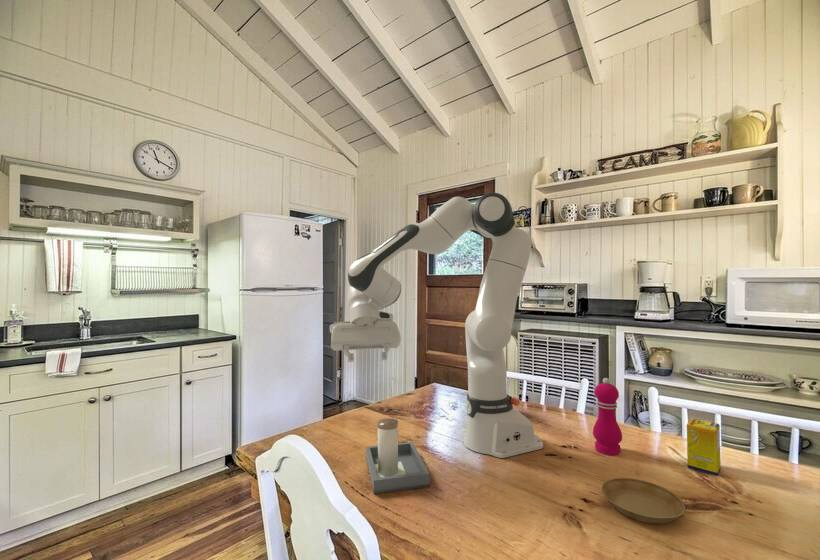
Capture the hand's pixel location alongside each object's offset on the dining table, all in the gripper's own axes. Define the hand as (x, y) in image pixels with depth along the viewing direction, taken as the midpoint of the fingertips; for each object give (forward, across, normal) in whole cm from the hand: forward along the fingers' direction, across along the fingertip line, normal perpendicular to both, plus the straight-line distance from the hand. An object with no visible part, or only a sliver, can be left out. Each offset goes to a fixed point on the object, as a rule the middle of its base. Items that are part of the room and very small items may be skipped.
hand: (368, 359), depth 106 cm
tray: (+27, +5, +10) cm, 29 cm away
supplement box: (+39, +80, -4) cm, 89 cm away
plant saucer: (+46, +52, -10) cm, 70 cm away
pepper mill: (+29, +64, +6) cm, 71 cm away
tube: (+27, +3, +8) cm, 28 cm away
